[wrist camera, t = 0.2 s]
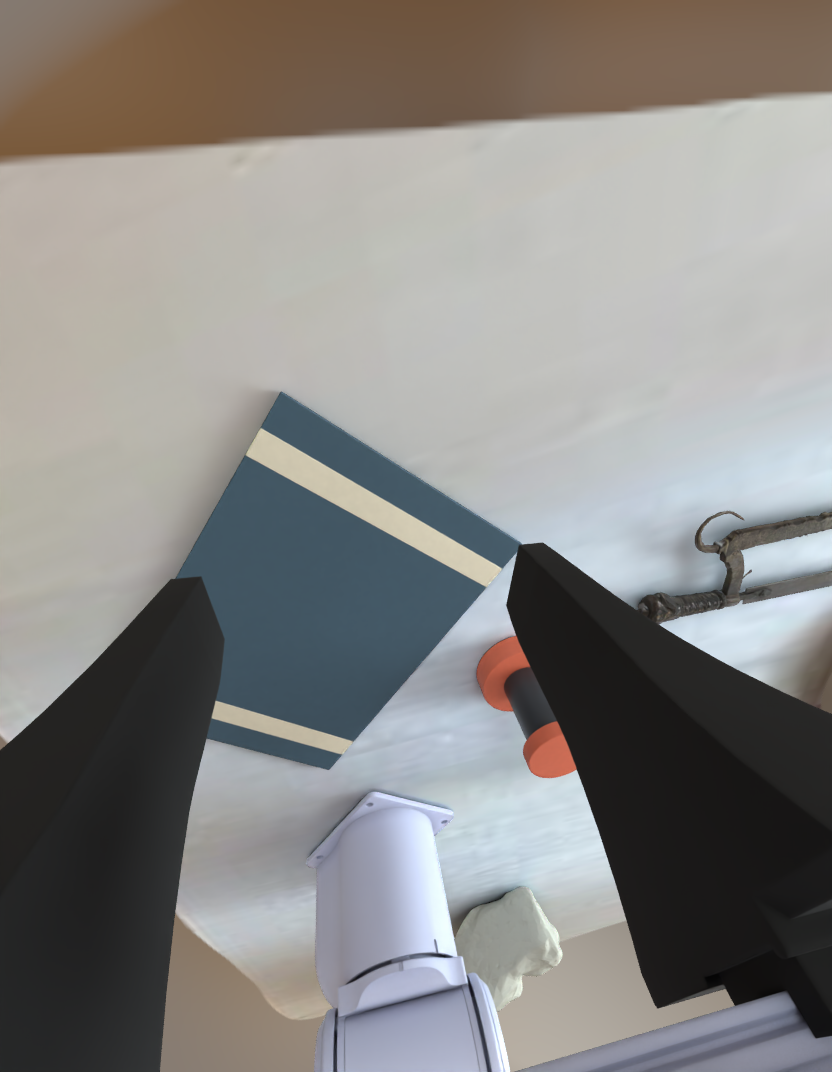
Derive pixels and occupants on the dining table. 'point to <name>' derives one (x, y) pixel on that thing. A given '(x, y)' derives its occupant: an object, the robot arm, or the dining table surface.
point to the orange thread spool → (525, 707)
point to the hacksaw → (740, 570)
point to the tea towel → (329, 584)
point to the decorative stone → (508, 944)
